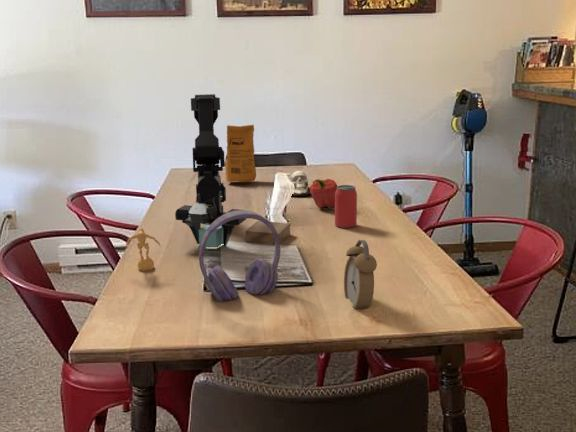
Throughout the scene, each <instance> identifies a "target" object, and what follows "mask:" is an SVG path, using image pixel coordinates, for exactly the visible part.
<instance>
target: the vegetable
mask: <svg viewBox="0 0 576 432" xmlns="http://www.w3.org/2000/svg"><path fill="white" fill-rule="evenodd" d="M338 186H339V185H338V184H337V183H336V181H335V180H334V179H331V178H327V179H318V178H317V179H314V180H313V181H312V184H311V185H310V186H309V187H310V192H311V193H310V194H311V196H312V199H313V202H314V204H315V205H316V207H318V208H321V209H323V208H325V207H326V208H335V192H336V190H337V187H338Z"/></svg>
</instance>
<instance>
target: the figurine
mask: <svg viewBox="0 0 576 432" xmlns="http://www.w3.org/2000/svg"><path fill="white" fill-rule="evenodd" d="M147 238H148V239H150V240H154V242H155V243H156V244H158V246H159V247H161V244H160V242H159V241H158V240H157V239H156V237H154V236H151V235H150V234H147V233H146V232H145V230H144V228H141V227H140V229H139V230H138V232H137V233H136V234H133V236H131V237H129V238H128V239H127V241H126V244H125V248H128V246H129V243H130V242H131V240H134V239H137V243H136V246H137V249H138V250H139V251H138V253H139V255H140V259H138V262H137V269H138V270H139V271H141V272H142V271H143V272H146V271H151V270H153V269H154V268H155V261H154V260H153V259H152V258H151V257H150V256H149V253H150V251H149V250H150V246H149V242H146V241H147ZM143 248H144V249H146V251H145V256H143V251H142V250H143Z"/></svg>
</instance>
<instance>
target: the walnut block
mask: <svg viewBox="0 0 576 432" xmlns="http://www.w3.org/2000/svg"><path fill="white" fill-rule="evenodd" d="M269 222H270V223H271V224H272V225H273V226H274V228H275V229H276V231H277V234H278V237H279V242H280V245H281V244H283V242H284V241H285V240H287V238H288V237H289V236H291V223H290V222H289V223H288V222H279V221H278V222H277V221H269ZM244 233H245V243H256V244H264V245H265V244H267V245H275V243H276V241H275V238H274V235H273V233H272V231H271V230H270V228H269V227H268V226H267V225H266V224H265V223H263V222H261V221H259V220H257V221H255V222H254V223H253V224H252V225H251V226H249V227H248V228H247V229H245V232H244Z"/></svg>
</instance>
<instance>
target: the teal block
mask: <svg viewBox="0 0 576 432" xmlns="http://www.w3.org/2000/svg"><path fill="white" fill-rule="evenodd" d="M210 225H211V224H204V226H201V229H199V244H198V245H199V246H200V245H201V240H202V238H203V235H204V233H205V232H206V230H207V229H208V227H209V226H210ZM221 244H223V228H222V225H221V226H219V227H218V228H217V229H216V230H214V231H213V232H212V234H211V235H210V236H209V238H208V240H207V242H206V244H205V248H204V250H207V249H206V247H218V246H219V245H221Z"/></svg>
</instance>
